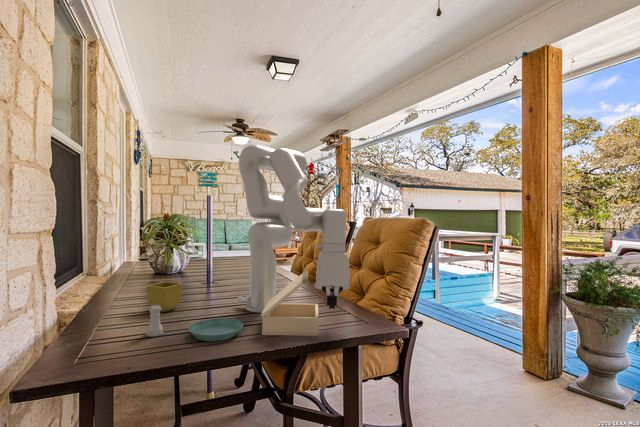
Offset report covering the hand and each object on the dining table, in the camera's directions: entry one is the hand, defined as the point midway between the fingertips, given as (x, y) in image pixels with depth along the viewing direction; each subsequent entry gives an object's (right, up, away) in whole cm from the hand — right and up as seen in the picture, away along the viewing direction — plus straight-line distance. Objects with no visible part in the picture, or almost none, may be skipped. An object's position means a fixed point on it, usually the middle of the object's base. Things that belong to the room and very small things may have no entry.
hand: (331, 307), depth 107 cm
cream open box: (-12, -6, 0) cm, 14 cm away
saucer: (-33, -6, -9) cm, 35 cm away
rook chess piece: (-50, -5, -10) cm, 51 cm away
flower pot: (-59, -5, +15) cm, 61 cm away
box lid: (-14, +5, 0) cm, 15 cm away
